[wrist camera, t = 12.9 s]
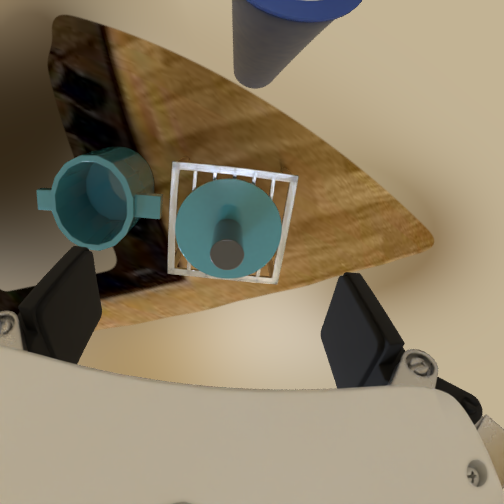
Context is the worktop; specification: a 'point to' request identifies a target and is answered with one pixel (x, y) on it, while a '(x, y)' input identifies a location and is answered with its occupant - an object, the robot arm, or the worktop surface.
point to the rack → (254, 173)
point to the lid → (228, 228)
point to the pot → (101, 196)
